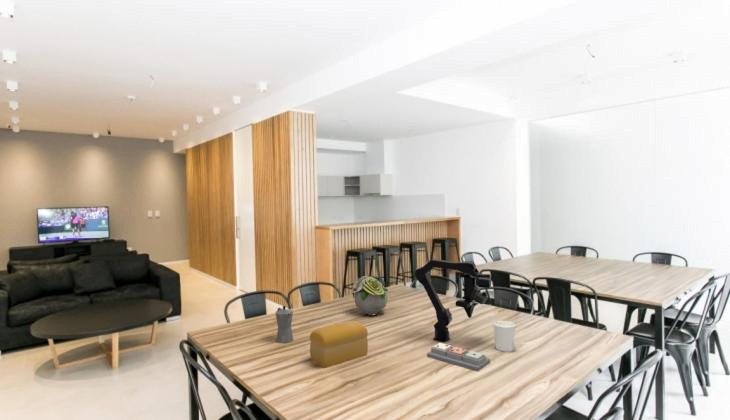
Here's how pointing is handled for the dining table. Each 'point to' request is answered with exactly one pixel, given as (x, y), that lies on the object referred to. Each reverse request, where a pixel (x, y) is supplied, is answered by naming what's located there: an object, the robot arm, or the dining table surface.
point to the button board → (458, 359)
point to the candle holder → (504, 335)
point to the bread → (338, 343)
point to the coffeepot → (284, 325)
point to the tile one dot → (474, 355)
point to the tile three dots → (457, 351)
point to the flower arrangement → (370, 294)
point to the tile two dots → (442, 347)
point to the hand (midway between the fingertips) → (469, 317)
